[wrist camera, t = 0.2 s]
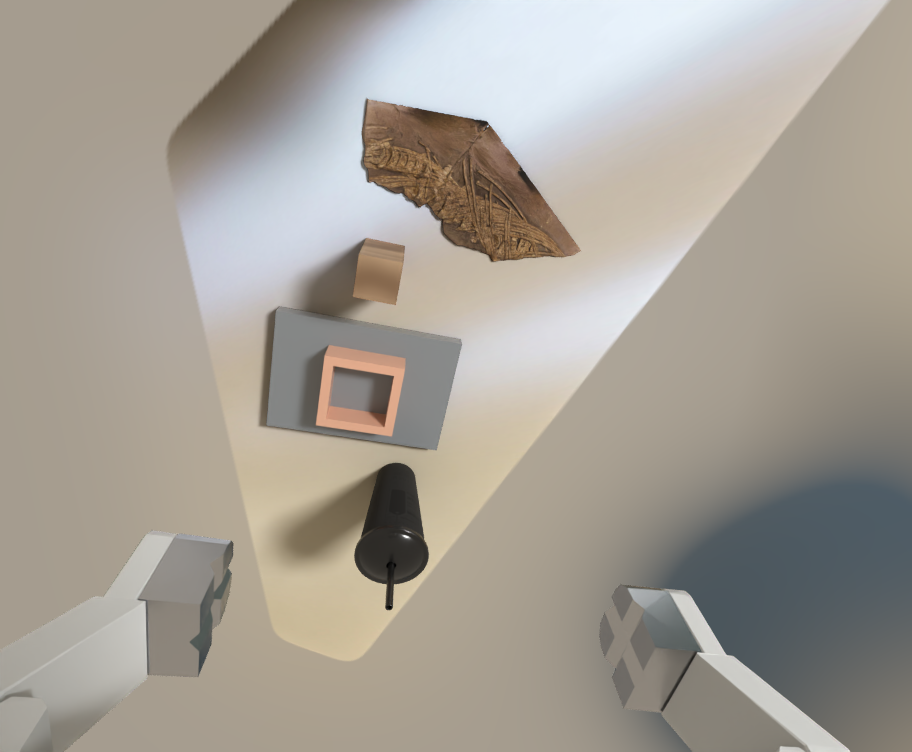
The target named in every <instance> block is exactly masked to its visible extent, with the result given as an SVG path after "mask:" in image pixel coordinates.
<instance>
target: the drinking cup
mask: <svg viewBox="0 0 912 752" xmlns="http://www.w3.org/2000/svg"><path fill="white" fill-rule="evenodd" d="M354 558H355V563H356V566H357V568H358V569H359V571H360V572H361V573H362V574H363V575H364V576H365V577H367V578H368V579H370V580H372V581H375V582H378V583H382V584H387V589H386V605H385V608H386V610H391V609H392V608H393V590H394V584H400V583H404V582H407V581H410V580H412V579H413V578H415V577H417V576H418V575H419V574H420V573H421V572H422V571H423V570H424V568H425V567H426V565H427V562H428V558H429V552H428V547H427V544H426V542H425V540H424V534H423V527H422V520H421V514H420V507H419V500H418V494H417V487H416V480H415V475H414V472H413V471H412V470H411V468H409V467H408V466H406V465H404V464H401V463H392V464H388V465H386V466H384V467H383V468H382V469H381V470H380V471H379V473H378V475H377V479H376V483H375V486H374V490H373V494H372V498H371V501H370V505H369V509H368V513H367V517H366V520H365V524H364V528H363V532H362V535H361V539H360V540H359V542H358V543H357V545H356V548H355V554H354Z"/></svg>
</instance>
